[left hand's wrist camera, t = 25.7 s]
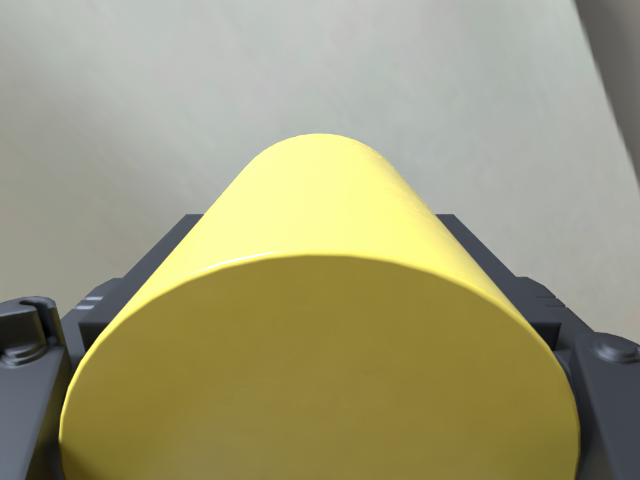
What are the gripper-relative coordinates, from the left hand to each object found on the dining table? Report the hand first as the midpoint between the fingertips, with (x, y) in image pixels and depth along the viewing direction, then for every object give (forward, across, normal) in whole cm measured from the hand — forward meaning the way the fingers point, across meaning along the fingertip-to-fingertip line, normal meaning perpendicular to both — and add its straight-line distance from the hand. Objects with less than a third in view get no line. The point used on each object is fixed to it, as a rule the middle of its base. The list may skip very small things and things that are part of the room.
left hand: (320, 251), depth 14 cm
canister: (+2, 0, 0) cm, 2 cm away
